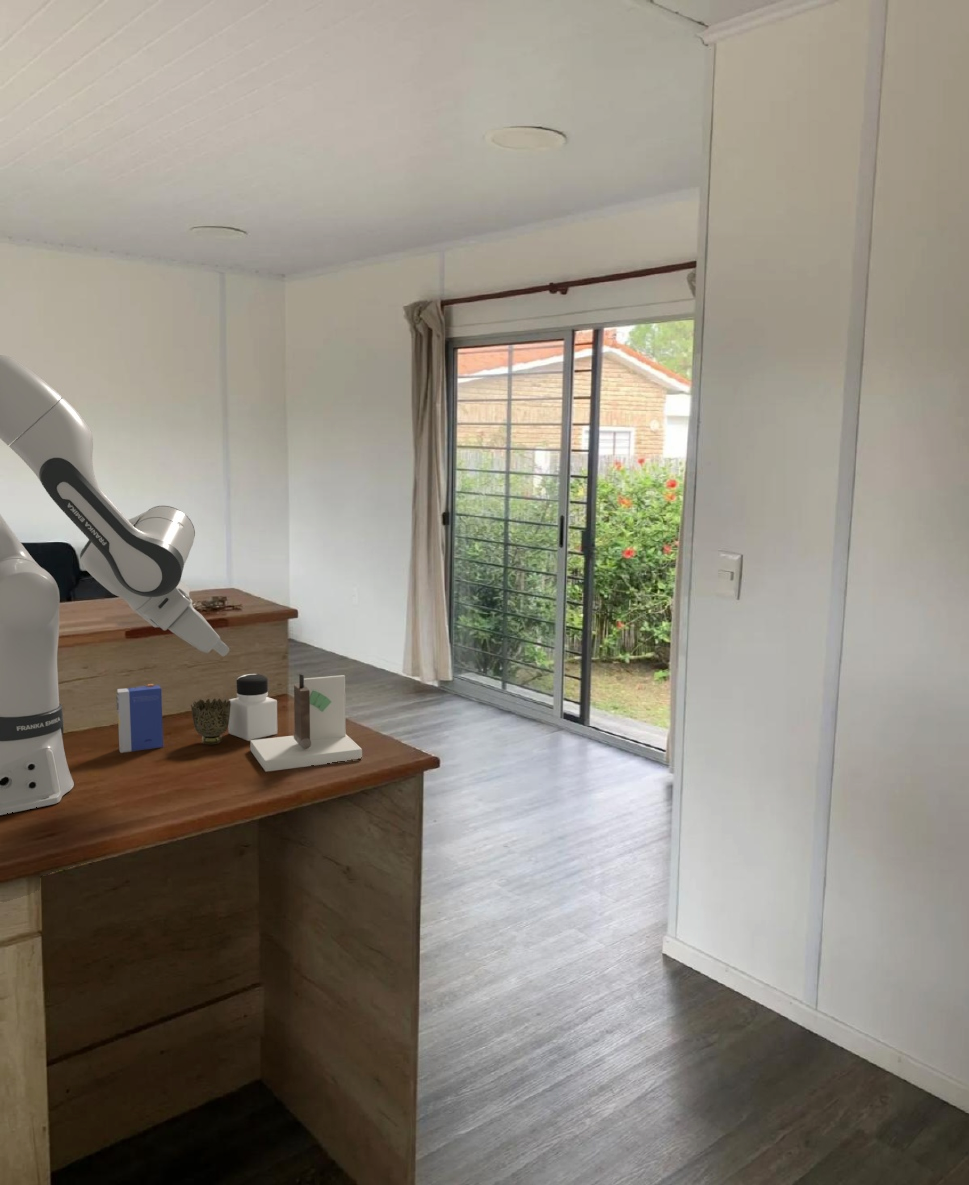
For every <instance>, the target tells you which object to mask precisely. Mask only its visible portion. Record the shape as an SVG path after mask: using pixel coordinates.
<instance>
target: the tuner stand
mask: <svg viewBox="0 0 969 1185" xmlns="http://www.w3.org/2000/svg"><path fill="white" fill-rule="evenodd" d="M304 686H305V687H306V688H307V689H309V690H310V741H311V746H310V747H309V748H308V749H303V748H302V747H301V746H300V745H299V744H298V743H297V742H296V740H295V739H294V734H293V735H288V736H287V735H286V736H277V737H276V736H275V737H268V738H258V739H254V740H250V741H249V742H250V752H251V753H252V754H253V756H254V758H255V759H256V760H257V762H258V763H259V764H260V766H261V767H262V768H263V770H264V772H274V771H281V770H288V769H289V770H290V769H297V768H304V767H312V766H311V765H314V766H319V765H320V766H322V765H328V764H327V763H330V764H333V763H332V762H337V761H345V762H348V761H347V760H351V759H358V758H361V757H362V758H363V749H362V748H361V747H360V746H359V745H358V744H357V743H356V742H355V741H354V740H353V739H352V738H351V737H350V736H348V735H347V733H346V675H344V674H340V675H330V676H318V677H308V678H305V677H304Z"/></svg>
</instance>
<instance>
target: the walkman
mask: <svg viewBox="0 0 969 1185" xmlns="http://www.w3.org/2000/svg"><path fill="white" fill-rule="evenodd" d="M162 697H163V696H162V687H161V686H160V685H159V684H156V685H155V684H154V683H150V684H146V686H145V685H144V686H137V687H127V688H117V690H116V697H115V699H116V700H115V701H116V711H117V720H118V722H117V724H118V743H119V745H118V746H119V752H120V753H121V754H122V753H130V752H135V751H136V752H137V751H144V750H151V749H158V748H164V730H163V729H164V728H163V702H162V701H163V699H162Z"/></svg>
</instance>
